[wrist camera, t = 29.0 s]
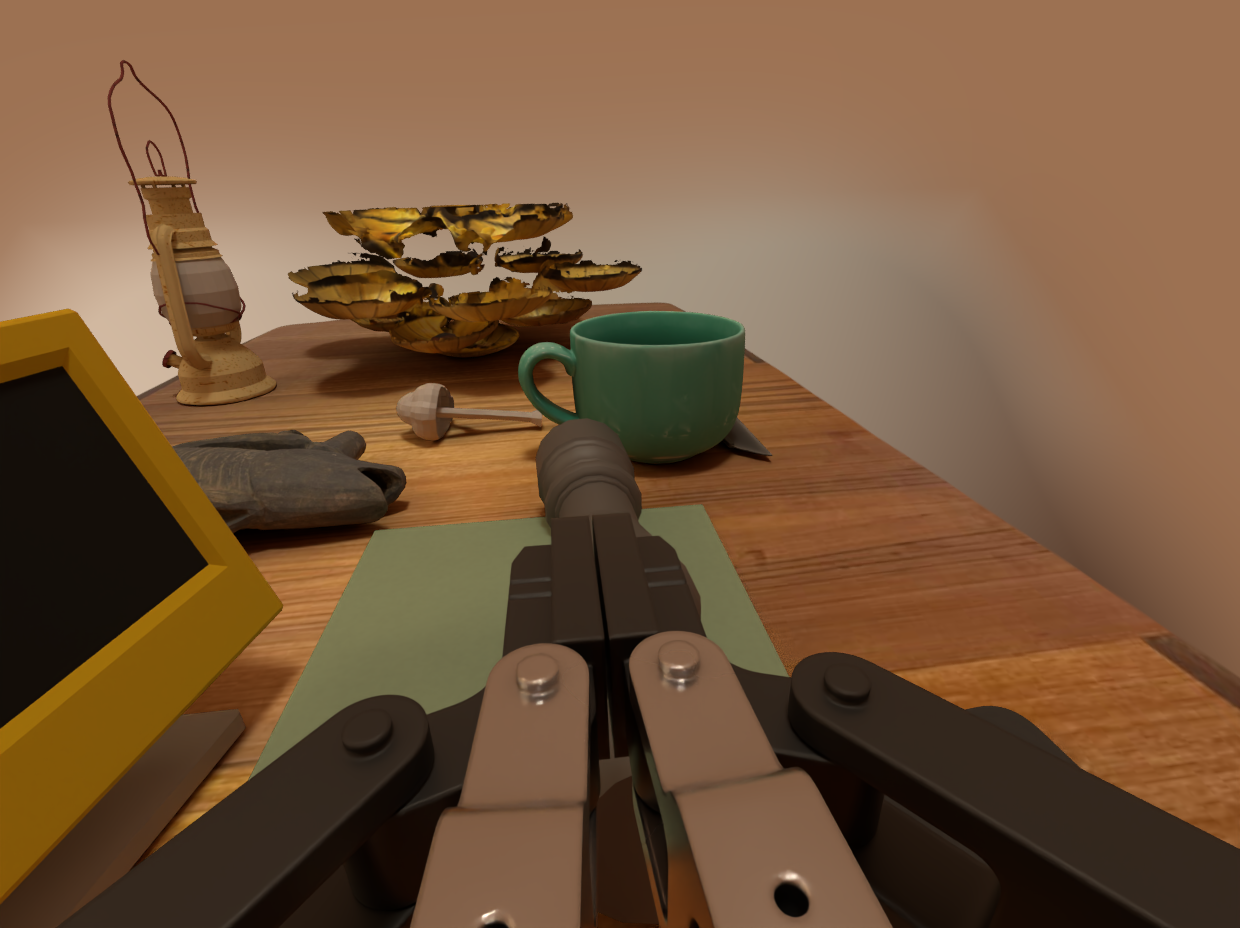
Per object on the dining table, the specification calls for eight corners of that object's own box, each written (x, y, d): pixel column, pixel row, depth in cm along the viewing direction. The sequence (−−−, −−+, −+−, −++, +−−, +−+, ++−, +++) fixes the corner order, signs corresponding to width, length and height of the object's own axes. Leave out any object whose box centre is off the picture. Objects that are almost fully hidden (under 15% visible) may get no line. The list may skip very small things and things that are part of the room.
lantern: (202, 380, 70) (102, 73, 57) (292, 374, 71) (214, 73, 59) (144, 414, 59) (6, 45, 46) (252, 406, 60) (146, 45, 48)
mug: (716, 414, 54) (720, 306, 50) (760, 473, 43) (770, 340, 39) (529, 426, 53) (518, 316, 49) (523, 491, 41) (508, 354, 37)
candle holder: (834, 750, 15) (637, 419, 37) (581, 754, 13) (536, 408, 36) (770, 916, 17) (621, 509, 40) (548, 934, 16) (526, 502, 38)
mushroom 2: (543, 392, 48) (387, 381, 47) (540, 450, 49) (385, 441, 47) (543, 388, 55) (406, 378, 53) (540, 439, 56) (405, 430, 54)
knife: (689, 403, 57) (689, 396, 56) (730, 400, 57) (730, 393, 57) (735, 463, 44) (736, 454, 44) (788, 458, 45) (788, 450, 44)
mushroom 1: (278, 432, 53) (218, 219, 46) (317, 334, 92) (287, 210, 85) (695, 374, 66) (699, 200, 59) (575, 309, 105) (569, 200, 97)
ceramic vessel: (360, 472, 32) (437, 410, 46) (-119, 479, 32) (108, 415, 46) (373, 558, 34) (443, 473, 48) (-84, 566, 33) (125, 478, 48)
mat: (702, 509, 38) (702, 504, 38) (865, 839, 19) (867, 831, 18) (376, 535, 36) (374, 529, 36) (179, 931, 17) (174, 922, 17)
